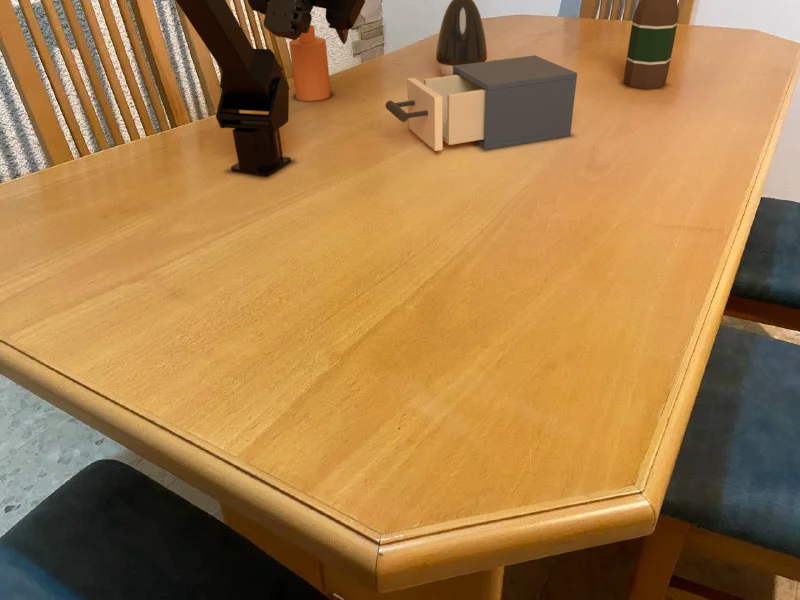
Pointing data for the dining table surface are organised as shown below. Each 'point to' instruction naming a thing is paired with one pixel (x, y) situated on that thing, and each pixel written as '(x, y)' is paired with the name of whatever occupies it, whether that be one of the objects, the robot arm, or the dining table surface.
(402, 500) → the dining table surface
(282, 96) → the robot arm
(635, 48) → the beer bottle
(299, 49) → the detergent bottle
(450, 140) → the drawer
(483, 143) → the cabinet
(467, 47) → the dark brown rounded piece
